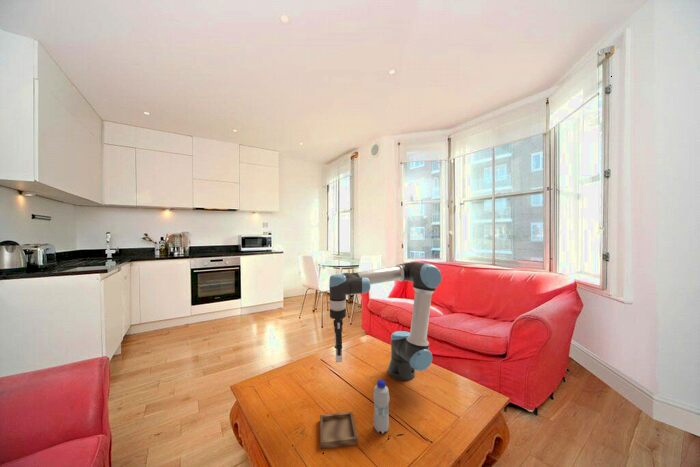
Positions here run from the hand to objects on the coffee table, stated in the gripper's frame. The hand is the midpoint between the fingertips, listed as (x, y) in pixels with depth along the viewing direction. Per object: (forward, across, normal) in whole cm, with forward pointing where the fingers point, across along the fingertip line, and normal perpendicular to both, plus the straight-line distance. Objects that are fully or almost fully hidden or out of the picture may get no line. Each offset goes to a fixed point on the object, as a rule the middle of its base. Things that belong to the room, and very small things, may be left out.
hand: (338, 354), depth 114 cm
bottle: (+25, +14, +17) cm, 33 cm away
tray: (+25, +14, -1) cm, 28 cm away
